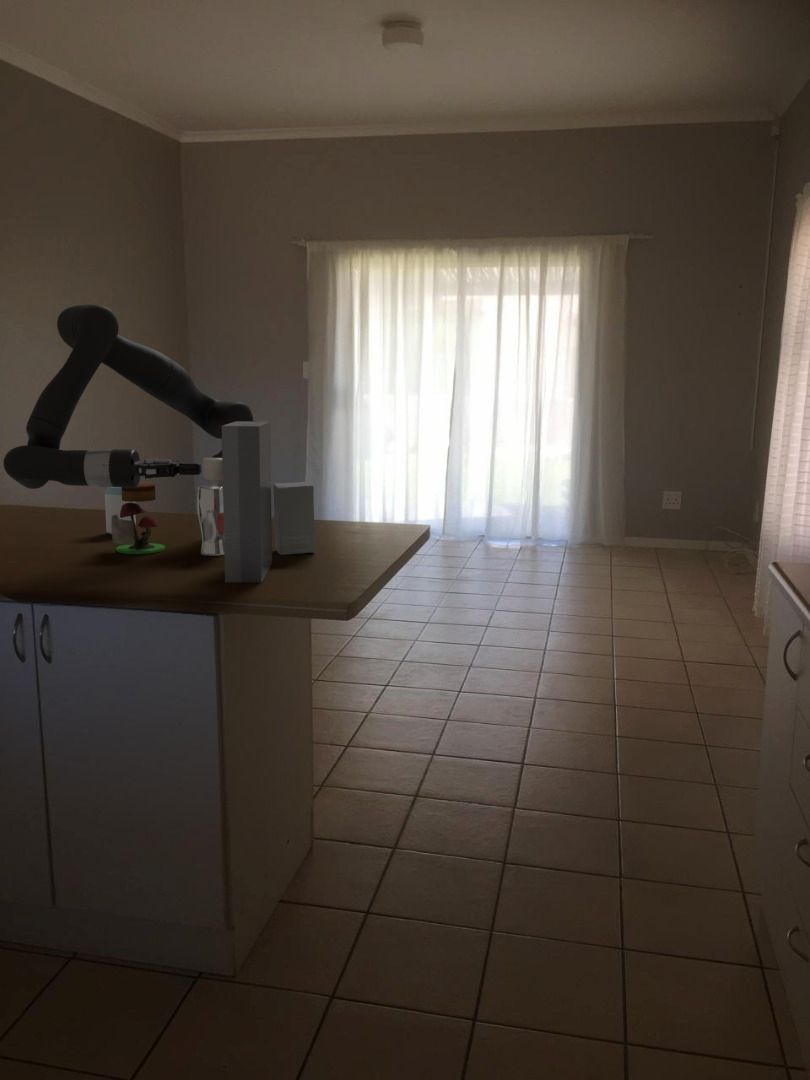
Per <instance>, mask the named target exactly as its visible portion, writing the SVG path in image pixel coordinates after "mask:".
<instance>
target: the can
mask: <svg viewBox="0 0 810 1080" xmlns="http://www.w3.org/2000/svg"><path fill="white" fill-rule="evenodd" d="M106 488H107V489H106V490H105V492H104V505H105V507H104V508H105V526H106V527H105V528H106V533H107V534H109V535H110V536H112V527H111V523H112V517H111V516H113V515H116V514H118V516H119V519H122V520H130V521H131V516H128V517H123V518H121V517H120V512H121V508H122V505H123V504H125V503H136V502H128V501H123V500H122V490H121V487H106ZM133 517H134V521H135V525H136V524H137V523H136V521H137V520H136V515H133ZM136 526H137V525H136Z"/></svg>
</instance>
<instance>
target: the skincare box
mask: <svg viewBox="0 0 810 1080" xmlns="http://www.w3.org/2000/svg"><path fill="white" fill-rule="evenodd" d="M314 488H315V486H314V485H313V484H311V483H310V481H299V482H296V481H295V482H280V483H279V482H277V483H273V512H274V513H273V515H274V516H273V518H274V542H275V545H274V546H275V551H276V552H277V553H278V554H279V555H280V556H286V555H295V554H296V555H299V554H311V553H312V554H314V553H316V544H315V543H316V542H315V541H316V540H315V537H316V536H315V506H314V500H315V496H314Z"/></svg>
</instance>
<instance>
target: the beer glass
mask: <svg viewBox="0 0 810 1080" xmlns="http://www.w3.org/2000/svg"><path fill="white" fill-rule="evenodd" d="M196 501H197V502H196V503H197V504H196V505H197V506H196V507H197V516H198V520H199V521H198V523H199V527H200V531H201V538H202V539H201V548H200V555H202V556H208V557H210V556H211V557H219V556H224V535H219V534H218V530H217V518H218V513H224V511H223V486H220V485H212V484H210V485H199V486H198V487H197V500H196Z"/></svg>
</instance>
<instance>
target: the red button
mask: <svg viewBox="0 0 810 1080" xmlns="http://www.w3.org/2000/svg"><path fill="white" fill-rule="evenodd" d="M217 530H218V534H219V535H224V513H218V518H217Z"/></svg>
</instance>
